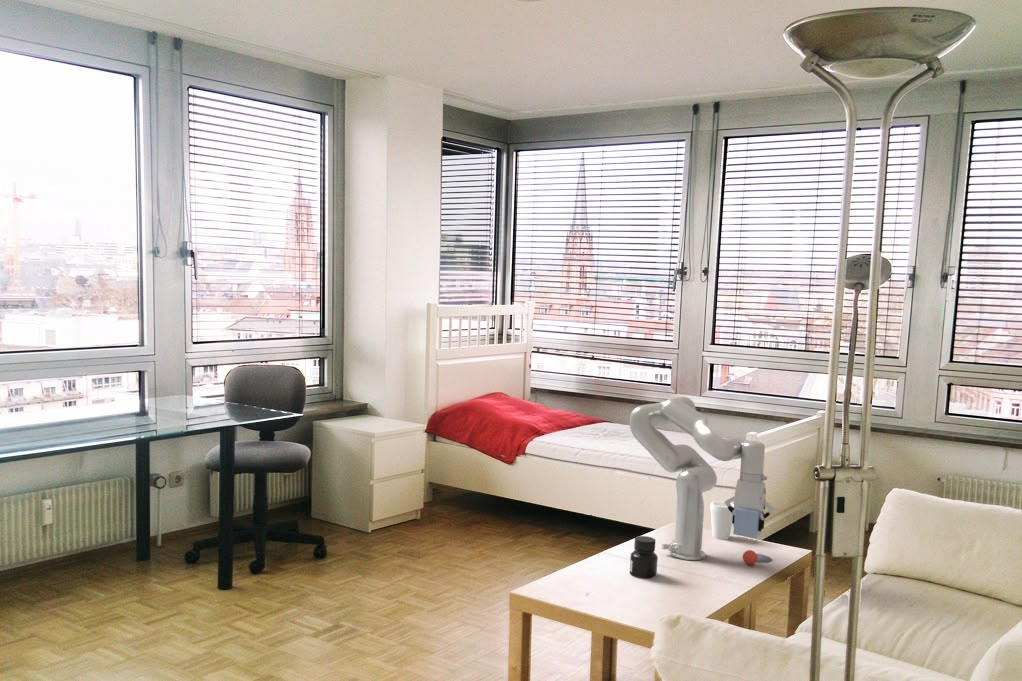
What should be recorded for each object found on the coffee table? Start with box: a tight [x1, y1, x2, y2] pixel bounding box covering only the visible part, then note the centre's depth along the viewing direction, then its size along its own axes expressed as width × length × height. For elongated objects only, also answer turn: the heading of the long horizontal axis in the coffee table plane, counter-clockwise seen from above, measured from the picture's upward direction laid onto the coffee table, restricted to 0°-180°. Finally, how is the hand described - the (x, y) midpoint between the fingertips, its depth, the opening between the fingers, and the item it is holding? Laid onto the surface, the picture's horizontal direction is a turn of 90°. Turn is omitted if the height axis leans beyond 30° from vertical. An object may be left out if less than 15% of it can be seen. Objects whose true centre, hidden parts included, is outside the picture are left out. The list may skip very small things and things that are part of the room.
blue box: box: [732, 508, 762, 539], centre depth 290 cm, size 8×8×9 cm
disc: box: [756, 553, 773, 564], centre depth 306 cm, size 10×10×1 cm
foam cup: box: [709, 500, 735, 540], centre depth 331 cm, size 10×9×13 cm
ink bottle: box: [629, 535, 658, 579], centre depth 282 cm, size 10×9×12 cm
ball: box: [742, 549, 758, 566], centre depth 299 cm, size 5×5×5 cm
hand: (747, 528), depth 291 cm, fingers closed on blue box, 7 cm apart
